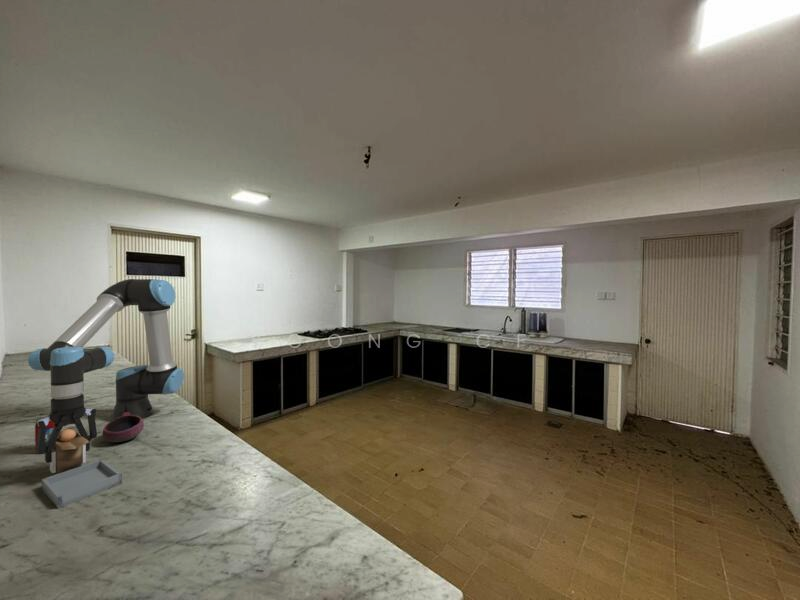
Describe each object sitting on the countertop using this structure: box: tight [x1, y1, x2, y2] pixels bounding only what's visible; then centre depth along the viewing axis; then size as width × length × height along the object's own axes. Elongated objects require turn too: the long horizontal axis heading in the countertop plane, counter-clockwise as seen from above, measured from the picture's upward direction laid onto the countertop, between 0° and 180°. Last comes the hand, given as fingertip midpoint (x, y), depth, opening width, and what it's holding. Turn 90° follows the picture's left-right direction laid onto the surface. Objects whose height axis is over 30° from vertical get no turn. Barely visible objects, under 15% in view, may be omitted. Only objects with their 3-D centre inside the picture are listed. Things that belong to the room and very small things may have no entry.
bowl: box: [101, 412, 145, 443], centre depth 132 cm, size 16×13×8 cm
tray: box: [41, 458, 123, 509], centre depth 100 cm, size 14×16×3 cm
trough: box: [54, 432, 89, 474], centre depth 106 cm, size 6×11×10 cm, turn 58°
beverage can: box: [34, 415, 63, 453], centre depth 122 cm, size 7×7×12 cm
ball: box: [59, 427, 77, 442], centre depth 107 cm, size 4×4×4 cm
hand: (68, 466), depth 107 cm, fingers closed on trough, 6 cm apart
